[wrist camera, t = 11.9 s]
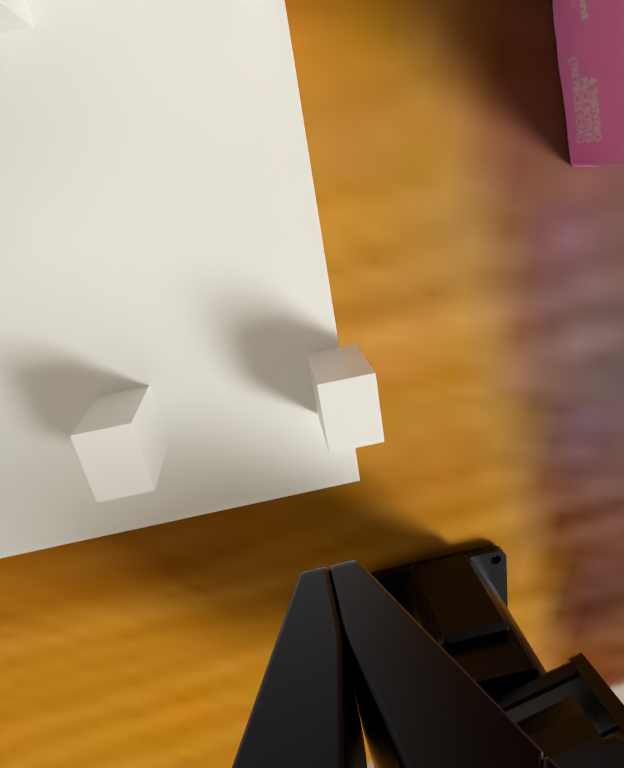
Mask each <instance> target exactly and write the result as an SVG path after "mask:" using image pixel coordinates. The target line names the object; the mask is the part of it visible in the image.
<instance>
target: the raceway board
mask: <svg viewBox="0 0 624 768" xmlns="http://www.w3.org/2000/svg"><path fill="white" fill-rule="evenodd" d="M380 442H384V435H383V427H382V419H381V412H380V404H379V396H378V389H377V381H376V373H375V371H374V370H373V369H372V367H371V366H370V364H369V363H368V361H367V360H366V358H365V357H364V355H363V354H362V352H361V351H360V350H359V348H358V347H357V345H356V344H351V345H346V346H341V347H339V343H338V337H337V331H336V324H335V318H334V312H333V305H332V299H331V293H330V286H329V280H328V274H327V267H326V261H325V254H324V248H323V242H322V235H321V229H320V223H319V216H318V210H317V204H316V197H315V191H314V185H313V178H312V172H311V166H310V159H309V153H308V146H307V140H306V134H305V127H304V121H303V115H302V108H301V102H300V96H299V89H298V83H297V77H296V70H295V64H294V57H293V51H292V45H291V38H290V32H289V26H288V19H287V13H286V7H285V0H0V558H4V557H9V556H14V555H18V554H23V553H28V552H32V551H37V550H41V549H46V548H51V547H55V546H60V545H65V544H69V543H74V542H78V541H83V540H88V539H92V538H97V537H102V536H106V535H111V534H115V533H120V532H125V531H129V530H134V529H139V528H143V527H148V526H152V525H157V524H162V523H166V522H171V521H176V520H180V519H185V518H189V517H194V516H199V515H203V514H208V513H213V512H217V511H222V510H226V509H231V508H236V507H240V506H245V505H250V504H254V503H259V502H263V501H268V500H273V499H277V498H282V497H287V496H291V495H296V494H300V493H305V492H310V491H314V490H319V489H324V488H328V487H333V486H337V485H342V484H347V483H351V482H356V481H360V477H359V471H358V464H357V458H356V452H355V448H357V447H362V446H366V445H371V444H376V443H380Z"/></svg>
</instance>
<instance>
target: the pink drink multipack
mask: <svg viewBox="0 0 624 768" xmlns="http://www.w3.org/2000/svg"><path fill="white" fill-rule="evenodd" d="M553 17H554V28H555V35H556V41H557V56H558V65H559V73H560V79H561V86H562V92H563V99H564V107H565V115H566V124H567V135H568V144H569V153H570V161H571V165H572V166H574V167H590V166H624V0H553Z"/></svg>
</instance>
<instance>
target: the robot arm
mask: <svg viewBox="0 0 624 768" xmlns="http://www.w3.org/2000/svg"><path fill="white" fill-rule="evenodd" d="M494 556H495V557H494ZM492 557H494V558H492ZM330 574H331V575H330ZM331 579H332V580H331ZM379 582H382V583H379ZM568 660H569V662H567V663H565V664H563V665H561V666H559V667H557V668H555V669H553V670H551V671H548V672H546V670H545V669H544V667H543V666H542V664H541V662H540V661H539V659H538V657H537V656H536V654H535V653H534V651H533V649H532V648H531V646H530V644H529V643H528V641H527V640H526V638H525V636H524V635H523V633H522V631H521V630H520V628H519V627H518V625H517V623H516V622H515V620H514V618H513V617H512V615H511V613H510V612H509V610H508V607H507V568H506V555H505V553H504V552H503V550H502V549H501V548H500V547H499V546H496V545H495V546H488V547H484V548H479V549H475V550H471V551H466V552H462V553H457V554H453V555H448V556H444V557H439V558H435V559H431V560H426V561H422V562H417V563H413V564H408V565H404V566H400V567H395V568H391V569H386V570H382V571H377V572H375V573H373V574H372V575H371V574H370V573H369V572H368V571H367V570H366V569H365V567H364V566H363V565H362V564H361V563H359V562H358V561H355V560H352V561H348V562H343V563H339V564H334V565H332V566H331V568H330V571H329V569H328V568H326V567H321V568H317V569H312V570H308V571H304V572H302V573H301V574H300V575H299V578H298V580H297V583H296V586H295V589H294V592H293V595H292V597H291V600H290V603H289V606H288V609H287V612H286V615H285V617H284V620H283V623H282V626H281V629H280V632H279V635H278V637H277V640H276V643H275V646H274V649H273V652H272V655H271V657H270V660H269V663H268V666H267V669H266V672H265V674H264V677H263V680H262V683H261V686H260V689H259V692H258V694H257V697H256V700H255V703H254V706H253V709H252V712H251V714H250V717H249V720H248V723H247V726H246V729H245V732H244V734H243V737H242V740H241V743H240V746H239V749H238V752H237V754H236V757H235V760H234V763H233V766H232V768H367V762H366V753H365V745H364V738H363V732H362V726H363V730H364V735H365V738H366V741H367V745H368V748H369V752H370V755H371V758H372V761H373V764H374V767H375V768H624V705H623V704H622V702H621V701H620V700H619V699H618V697H617V696H616V695H615V694H614V692H613V691H612V690H611V689H610V687H609V686H608V685H607V684H606V683H605V681H604V680H603V679H602V678H601V676H600V675H599V674H598V673H597V671H596V670H595V669H594V668H593V666H592V665H591V664H590V663H589V661H588V660H587V659H586V658H585V656H584V655H583V654H582V653H579V654H577V655H575V656H573V657H571V658H569V659H568ZM356 699H357V700H356ZM357 704H358V705H357ZM358 709H359V710H358ZM359 713H360V715H359ZM360 718H361V721H360ZM361 722H362V726H361Z"/></svg>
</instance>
